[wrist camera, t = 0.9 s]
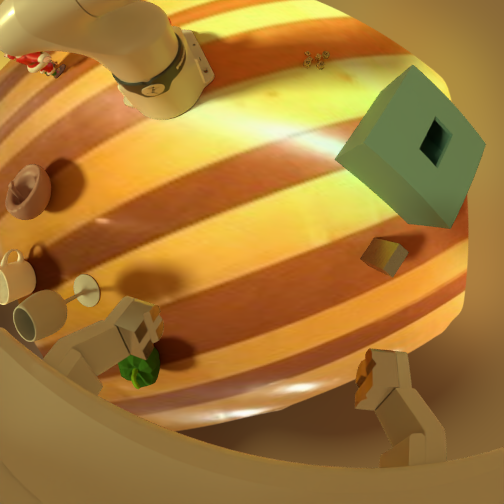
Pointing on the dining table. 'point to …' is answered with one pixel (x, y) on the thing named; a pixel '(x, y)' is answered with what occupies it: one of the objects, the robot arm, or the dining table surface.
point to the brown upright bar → (384, 256)
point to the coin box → (415, 151)
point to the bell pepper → (141, 369)
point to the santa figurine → (39, 63)
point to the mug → (15, 278)
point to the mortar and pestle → (29, 192)
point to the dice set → (320, 64)
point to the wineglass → (51, 309)
